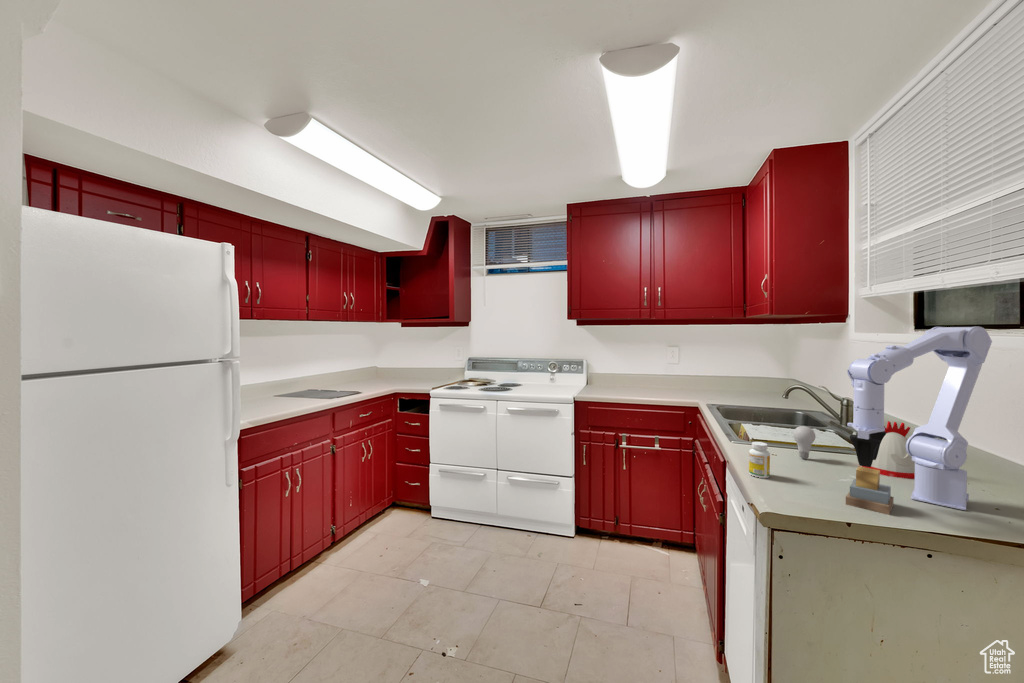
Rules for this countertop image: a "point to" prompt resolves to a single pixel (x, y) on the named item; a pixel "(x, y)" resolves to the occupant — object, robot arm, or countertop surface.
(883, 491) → the tower top
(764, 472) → the supplement bottle
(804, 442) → the lightbulb
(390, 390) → the countertop surface
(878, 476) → the ochre cube
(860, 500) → the tower base
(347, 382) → the countertop surface
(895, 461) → the kitchen timer
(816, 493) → the countertop surface
